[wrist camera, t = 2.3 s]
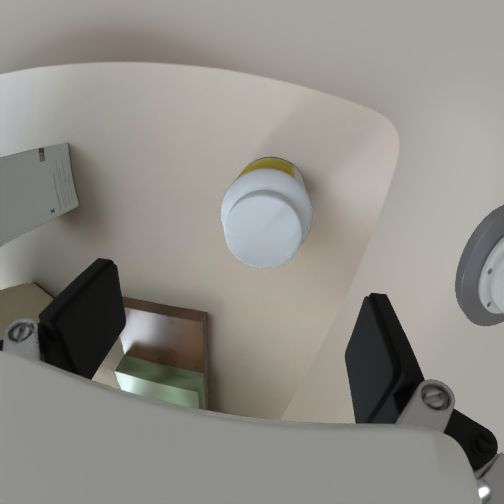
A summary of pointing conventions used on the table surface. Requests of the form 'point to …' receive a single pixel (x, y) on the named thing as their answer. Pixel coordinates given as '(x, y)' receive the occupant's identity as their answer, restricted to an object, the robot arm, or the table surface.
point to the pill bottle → (266, 213)
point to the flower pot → (21, 304)
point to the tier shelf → (164, 353)
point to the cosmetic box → (34, 189)
